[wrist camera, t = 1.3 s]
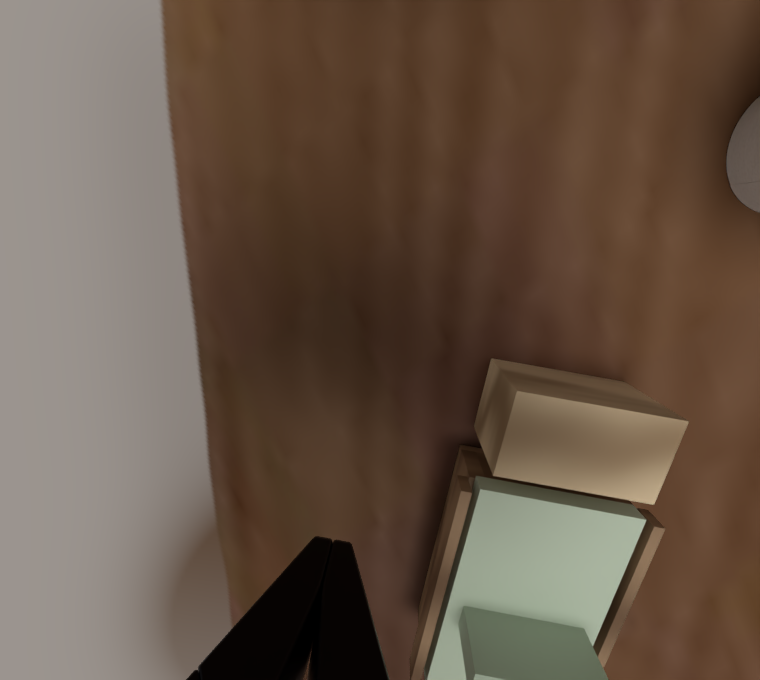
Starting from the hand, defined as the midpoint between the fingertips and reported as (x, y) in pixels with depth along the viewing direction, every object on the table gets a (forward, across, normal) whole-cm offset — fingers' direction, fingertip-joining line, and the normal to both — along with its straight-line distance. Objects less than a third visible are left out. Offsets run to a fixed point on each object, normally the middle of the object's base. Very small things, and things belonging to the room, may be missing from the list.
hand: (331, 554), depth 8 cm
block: (+12, -10, 0) cm, 15 cm away
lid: (+9, -9, +9) cm, 16 cm away
